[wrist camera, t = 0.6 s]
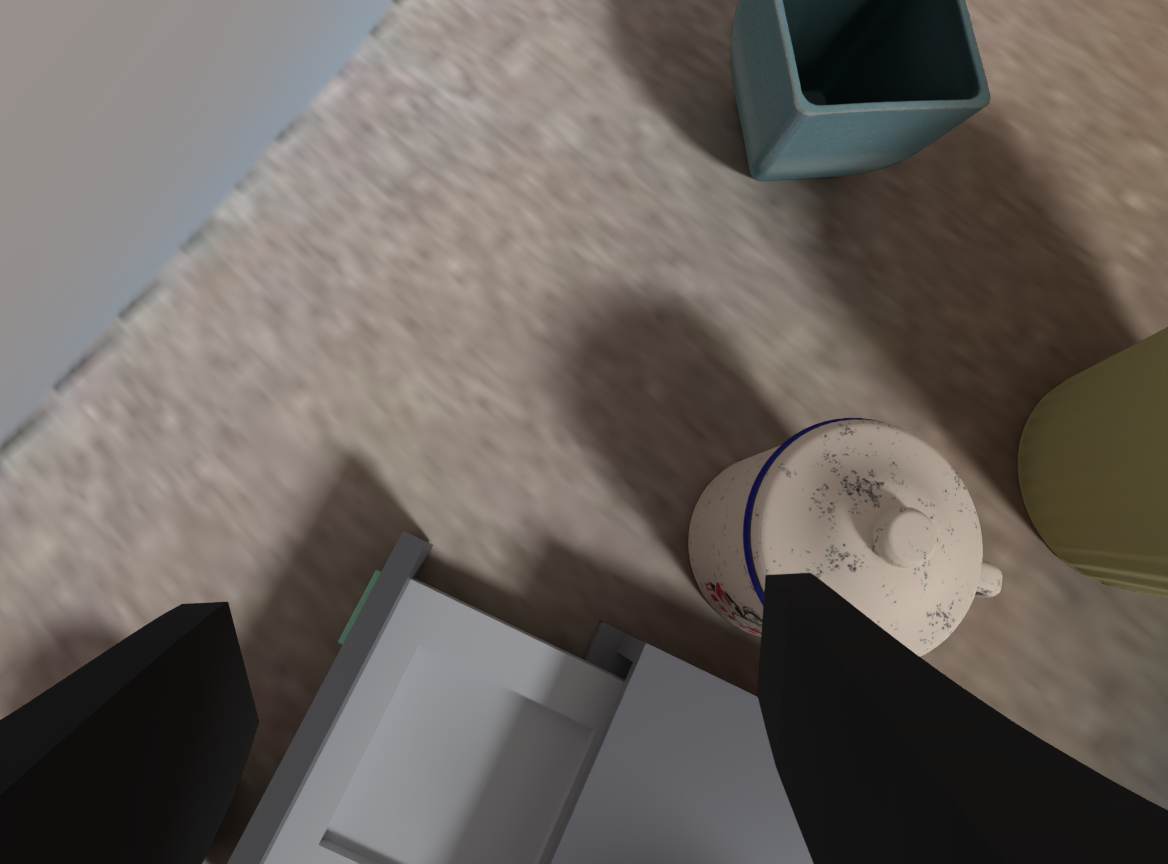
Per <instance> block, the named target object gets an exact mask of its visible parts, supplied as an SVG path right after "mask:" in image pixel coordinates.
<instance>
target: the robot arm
mask: <svg viewBox="0 0 1168 864" xmlns="http://www.w3.org/2000/svg"><path fill="white" fill-rule="evenodd" d="M757 696H758V700H759V704H760V708H761V712H762V716H763V720H764V724H765V728H766V732H767V736H768V740H769V743H770V747H771V751H772V754H773V758H774V762H775V766H776V768H777V771H778V774H779V776H780V779H781V782H782V784H783V787H784V789H785V792H786V795H787V797H788V800H789V802H790V805H791V807H792V810H793V813H794V815H795V818H796V820H797V823H798V826H799V828H800V831H801V833H802V836H803V838H804V841H805V843H806V846H807V848H808V851H809V853H810V856H811V858H812V861H813V863H814V864H1168V810H1166V809H1164V808H1162V807H1160V806H1158V805H1156V804H1154V803H1152V802H1150V801H1148V800H1147V799H1145V798H1143V797H1141V796H1139V795H1137V794H1135V793H1134V792H1132V791H1130V790H1128V789H1126V788H1124V787H1123V786H1121V785H1119V784H1117V783H1115V782H1113V781H1112V780H1110V779H1108V778H1106V777H1105V776H1103V775H1101V774H1099V773H1098V772H1096V771H1094V770H1093V769H1091V768H1089V767H1087V766H1086V765H1084V764H1082V763H1081V762H1079V761H1077V760H1075V759H1074V758H1072V757H1070V756H1069V755H1067V754H1065V753H1064V752H1062V751H1060V750H1058V749H1057V748H1055V747H1053V746H1052V745H1050V744H1048V743H1046V742H1045V741H1043V740H1041V739H1040V738H1038V737H1037V736H1035V735H1033V734H1032V733H1030V732H1029V731H1027V730H1025V729H1024V728H1022V727H1021V726H1019V725H1017V724H1016V723H1014V722H1013V721H1011V720H1010V719H1008V718H1007V717H1005V716H1004V715H1002V714H1001V713H999V712H998V711H996V710H995V709H993V708H992V707H990V706H989V705H987V704H986V703H984V702H983V701H981V700H980V699H978V698H977V697H976V696H974V695H973V694H971V693H970V692H968V691H967V690H965V689H964V688H962V687H961V686H959V685H958V684H956V683H955V682H954V681H952V680H951V679H949V678H948V677H947V676H945V675H944V674H942V673H941V672H940V671H938V670H937V669H935V668H934V667H933V666H931V665H930V664H929V663H927V662H926V661H925V660H923V659H922V658H920V657H919V656H918V655H916V654H915V653H914V652H912V651H911V650H910V649H908V648H907V647H906V646H905V645H903V644H902V643H901V642H899V641H898V640H897V639H895V638H894V637H893V636H891V635H890V634H889V633H888V632H886V631H885V630H884V629H882V628H881V627H880V626H879V625H877V624H876V623H875V622H873V621H872V620H871V619H870V618H868V617H867V616H866V615H865V614H863V613H862V612H861V611H859V610H858V609H857V608H856V607H854V606H853V605H852V604H851V603H849V602H848V601H847V600H846V599H844V598H843V597H842V596H840V595H839V594H838V593H837V592H835V591H834V590H833V589H832V588H830V587H829V586H828V585H826V584H825V583H824V582H822V581H821V580H820V579H818V578H817V577H816V576H814V575H813V574H812V573H795V574H775V575H765V590H764V605H763V619H762V634H761V649H760V663H759V678H758V693H757ZM258 724H259V719H258V716H257V712H256V708H255V704H254V700H253V696H252V692H251V689H250V685H249V681H248V677H247V673H246V669H245V666H244V662H243V658H242V654H241V650H240V646H239V642H238V639H237V635H236V631H235V627H234V623H233V619H232V615H231V612H230V608H229V604H228V602H214V603H194V604H181V605H180V606H178V607H176V608H174V609H172V610H170V611H169V612H167V613H165V614H163V615H162V616H160V617H158V618H157V619H155V620H153V621H152V622H150V623H149V624H147V625H145V626H144V627H142V628H141V629H139V630H138V631H136V632H135V633H133V634H131V635H130V636H128V637H127V638H125V639H124V640H122V641H121V642H119V643H118V644H116V645H115V646H113V647H112V648H110V649H109V650H107V651H106V652H104V653H103V654H101V655H100V656H98V657H97V658H95V659H94V660H92V661H91V662H89V663H88V664H86V665H84V666H83V667H81V668H80V669H78V670H77V671H75V672H74V673H72V674H71V675H69V676H68V677H66V678H65V679H63V680H62V681H60V682H59V683H57V684H56V685H54V686H53V687H51V688H50V689H48V690H47V691H45V692H44V693H42V694H40V695H39V696H37V697H36V698H34V699H33V700H31V701H30V702H28V703H27V704H25V705H24V706H22V707H21V708H19V709H18V710H16V711H14V712H13V713H11V714H9V715H8V716H6V717H5V718H3V719H1V720H0V864H202V863H203V861H204V859H205V857H206V854H207V852H208V850H209V848H210V846H211V844H212V842H213V840H214V838H215V836H216V834H217V832H218V829H219V827H220V825H221V823H222V821H223V819H224V817H225V815H226V813H227V810H228V808H229V806H230V804H231V802H232V800H233V798H234V795H235V792H236V790H237V787H238V784H239V781H240V778H241V776H242V773H243V770H244V767H245V764H246V761H247V758H248V755H249V752H250V749H251V746H252V743H253V739H254V736H255V733H256V730H257V727H258Z"/></svg>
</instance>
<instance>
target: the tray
mask: <svg viewBox="0 0 1168 864" xmlns="http://www.w3.org/2000/svg"><path fill="white" fill-rule="evenodd" d="M432 546H433V545H432V544H430V543H428V542H426V541H424V540H422V539H420V538H418V537H416V536H414V535H412V534H409V533H407V532H404V531H402V533H401V535H400V537H399V539H398V541H397V543H396V545H395V547H394V549H393V550H392V552H391V554H390V556H389V558H388V560H387V562H386V564H385V566H384V567H383V569H382V571H379V570H376V571H375V572H374V574H373V576H372V578H371V580H370V582H369V584H368V586H367V588H366V589H365V591H364V593H363V595H362V597H361V599H360V601H359V603H358V605H357V606H356V608H355V610H354V612H353V614H352V616H351V618H350V620H349V621H348V623H347V625H346V627H345V629H344V631H343V633H342V635H341V637H340V638H339V640H338V643H340V644H342V647H341V649H340V651H339V653H338V655H337V656H336V658H335V660H334V662H333V664H332V666H331V668H330V670H329V672H328V674H327V675H326V677H325V679H324V681H323V683H322V685H321V687H320V689H319V691H318V692H317V694H316V696H315V698H314V700H313V702H312V704H311V706H310V708H309V710H308V711H307V713H306V715H305V717H304V719H303V721H302V723H301V725H300V727H299V728H298V730H297V732H296V734H295V736H294V738H293V740H292V742H291V744H290V745H289V747H288V749H287V751H286V753H285V755H284V757H283V759H282V761H281V763H280V764H279V766H278V768H277V770H276V772H275V774H274V776H273V778H272V780H271V781H270V783H269V785H268V787H267V789H266V791H265V793H264V795H263V797H262V799H261V800H260V802H259V804H258V806H257V808H256V810H255V812H254V814H253V816H252V817H251V819H250V821H249V823H248V825H247V827H246V829H245V831H244V833H243V834H242V836H241V838H240V840H239V842H238V844H237V846H236V848H235V850H234V852H233V853H232V855H231V857H230V859H229V861H228V863H227V864H546V861H547V859H548V857H549V854H550V852H551V850H552V848H553V845H554V843H555V841H556V838H557V836H558V834H559V831H560V829H561V827H562V825H563V822H564V820H565V818H566V815H567V813H568V811H569V808H570V806H571V804H572V802H573V799H574V797H575V795H576V792H577V790H578V788H579V785H580V783H581V781H582V779H583V776H584V774H585V772H586V769H587V767H588V765H589V762H590V760H591V758H592V756H593V753H594V751H595V749H596V746H597V744H598V742H599V739H600V737H601V735H602V733H603V730H604V728H605V726H606V723H607V721H608V719H609V716H610V714H611V712H612V710H613V707H614V705H615V703H616V700H617V698H618V696H619V693H620V691H621V689H622V687H623V684H624V682H625V679H623V678H621V677H619V676H617V675H615V674H613V673H611V672H608V671H606V670H604V669H602V668H600V667H598V666H596V665H594V664H592V663H590V662H588V661H586V660H583V659H581V658H579V657H577V656H575V655H573V654H571V653H569V652H567V651H565V650H563V649H561V648H559V647H556V646H554V645H552V644H550V643H548V642H546V641H544V640H542V639H540V638H538V637H536V636H534V635H532V634H529V633H527V632H525V631H523V630H521V629H519V628H517V627H515V626H513V625H511V624H509V623H507V622H505V621H502V620H500V619H498V618H496V617H494V616H492V615H490V614H488V613H486V612H484V611H482V610H480V609H478V608H475V607H473V606H471V605H469V604H467V603H465V602H463V601H461V600H459V599H457V598H455V597H453V596H451V595H448V594H446V593H444V592H442V591H440V590H438V589H436V588H434V587H432V586H430V585H428V584H426V583H424V582H421V581H419V580H417V579H416V577H417V575H418V573H419V571H420V569H421V567H422V566H423V564H424V562H425V560H426V558H427V556H428V554H429V552H430V550H431V548H432Z"/></svg>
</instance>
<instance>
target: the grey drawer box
mask: <svg viewBox="0 0 1168 864" xmlns="http://www.w3.org/2000/svg"><path fill="white" fill-rule="evenodd" d="M583 660H586V661H588V662H590V663H592V664H594V665H596V666H598V667H600V668H602V669H604V670H606V671H608V672H611V673H613V674H615V675H617V676H619V677H621V678H623V679H625V682H624V684H623V687H622V689H621V691H620V693H619V696H618V698H617V700H616V703H615V705H614V707H613V710H612V712H611V714H610V716H609V719H608V721H607V723H606V726H605V728H604V730H603V733H602V735H601V737H600V739H599V742H598V744H597V746H596V749H595V751H594V753H593V756H592V758H591V760H590V762H589V765H588V767H587V769H586V772H585V774H584V776H583V779H582V781H581V783H580V785H579V788H578V790H577V792H576V795H575V797H574V799H573V802H572V804H571V806H570V808H569V811H568V813H567V815H566V818H565V820H564V822H563V825H562V827H561V829H560V831H559V834H558V836H557V838H556V841H555V843H554V845H553V848H552V850H551V852H550V854H549V857H548V859H547V861H546V864H814V863H813V861H812V858H811V856H810V853H809V851H808V848H807V846H806V843H805V841H804V838H803V836H802V833H801V831H800V828H799V826H798V823H797V820H796V818H795V815H794V813H793V810H792V807H791V805H790V802H789V800H788V797H787V795H786V792H785V789H784V787H783V784H782V782H781V779H780V776H779V774H778V771H777V768H776V766H775V762H774V758H773V754H772V751H771V747H770V743H769V740H768V736H767V732H766V728H765V724H764V720H763V716H762V712H761V708H760V704H759V700H758V697H757V696H755V695H753V694H751V693H749V692H746V691H744V690H742V689H740V688H738V687H736V686H734V685H732V684H730V683H728V682H726V681H724V680H722V679H720V678H718V677H716V676H713V675H711V674H709V673H707V672H705V671H703V670H701V669H699V668H697V667H695V666H693V665H691V664H689V663H687V662H685V661H683V660H680V659H678V658H676V657H674V656H672V655H670V654H668V653H666V652H664V651H662V650H660V649H658V648H656V647H654V646H652V645H650V644H647V643H645V642H643V641H641V640H639V639H637V638H635V637H633V636H631V635H629V634H627V633H625V632H623V631H620V630H618V629H616V628H614V627H612V626H610V625H608V624H606V623H604V622H602V621H601V622H600V624H599V626H598V628H597V630H596V633H595V635H594V637H593V639H592V642H591V644H590V646H589V648H588V650H587V653H586V655H585V657H584V659H583Z"/></svg>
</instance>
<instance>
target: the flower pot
mask: <svg viewBox="0 0 1168 864" xmlns="http://www.w3.org/2000/svg"><path fill="white" fill-rule="evenodd" d="M731 70H732V79H733V86H734V91H735V98H736V103H737V108H738V112H739V117H740V122H741V127H742V132H743V138H744V143H745V148H746V153H747V159H748V165H749V170H750V174H751V176H752V177H753V178H754V179H755V180H758V181H770V180H787V179H801V178H822V177H836V176H845V175H854V174H861V173H866V172H871V171H875V170H878V169H882V168H885V167H888V166H891V165H893V164H896V163H898V162H900V161H902V160H905V159H907V158H908V157H910V156H912V155H914V154H916V153H917V152H919V151H920V150H922V149H923V148H925V147H926V146H928V145H929V144H931V143H932V142H934V141H935V140H937V139H938V138H940V137H941V136H943V135H944V134H946V133H947V132H949V131H950V130H952V129H953V128H955V127H956V126H958V125H959V124H961V123H962V122H964V121H965V120H967V119H968V118H969V117H971V116H972V115H974V114H975V113H977V112H978V111H980V110H981V109H982V108H984V107H985V106H987V105H988V104H989V103H990V93H989V88H988V83H987V79H986V76H985V73H984V69H983V65H982V62H981V58H980V54H979V50H978V47H977V43H976V39H975V35H974V32H973V28H972V23H971V21H970V15H969V12H968V9H967V6H966V2H965V0H739V2H738V6H737V9H736V13H735V17H734V21H733V26H732V34H731Z"/></svg>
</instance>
